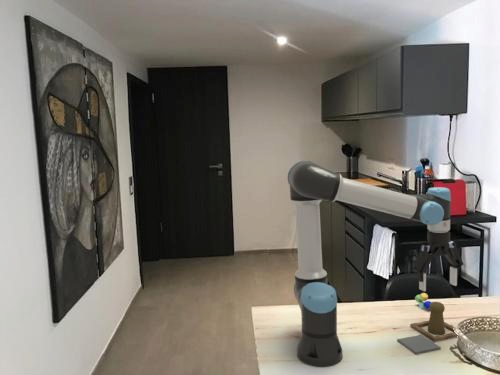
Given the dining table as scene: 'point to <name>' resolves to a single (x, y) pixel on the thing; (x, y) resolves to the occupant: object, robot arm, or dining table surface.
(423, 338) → the slate pad
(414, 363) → the dining table surface
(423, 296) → the colourful toy
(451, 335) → the wooden square frame
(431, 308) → the cork
